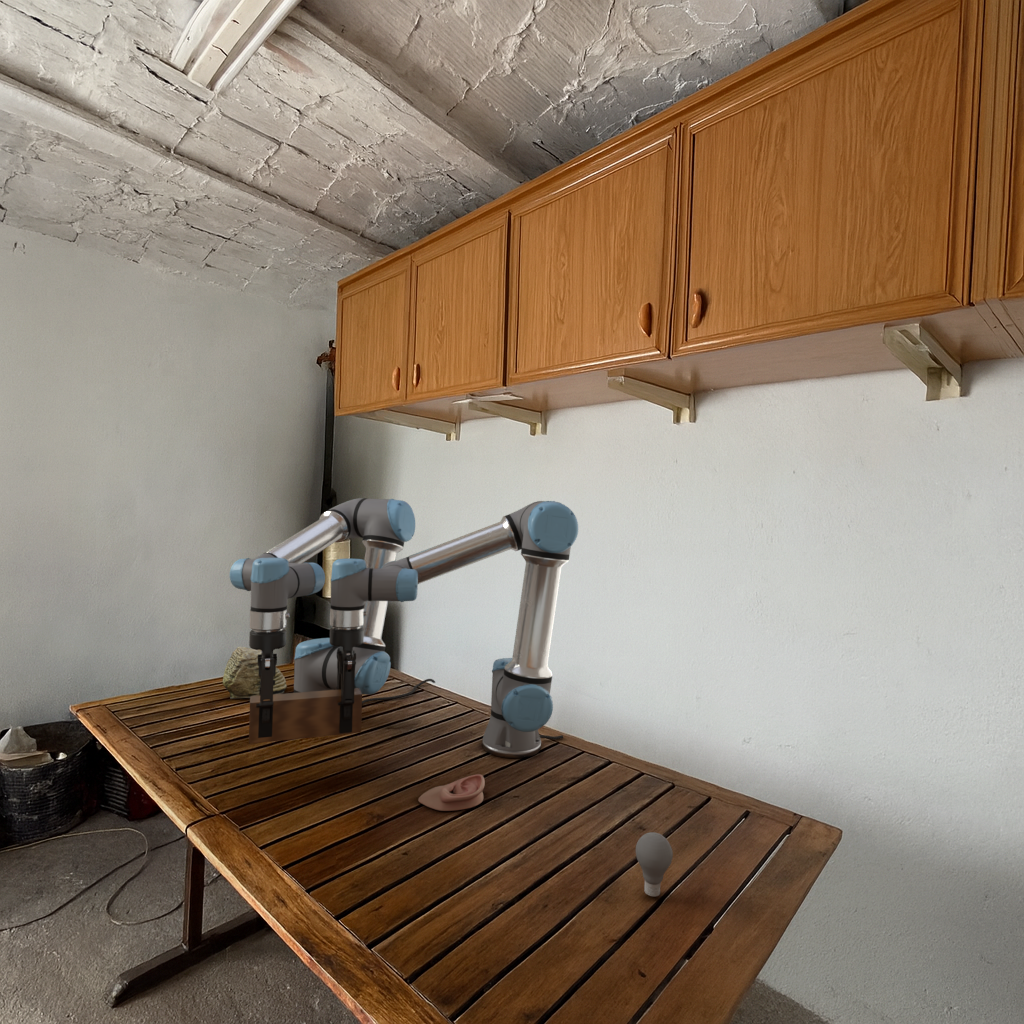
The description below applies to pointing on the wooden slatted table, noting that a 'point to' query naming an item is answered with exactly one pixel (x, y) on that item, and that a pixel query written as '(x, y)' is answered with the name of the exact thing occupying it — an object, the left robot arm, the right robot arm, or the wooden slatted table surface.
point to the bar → (304, 715)
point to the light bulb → (653, 860)
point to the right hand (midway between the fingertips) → (344, 727)
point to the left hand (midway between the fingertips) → (265, 725)
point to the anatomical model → (455, 794)
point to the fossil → (247, 674)
